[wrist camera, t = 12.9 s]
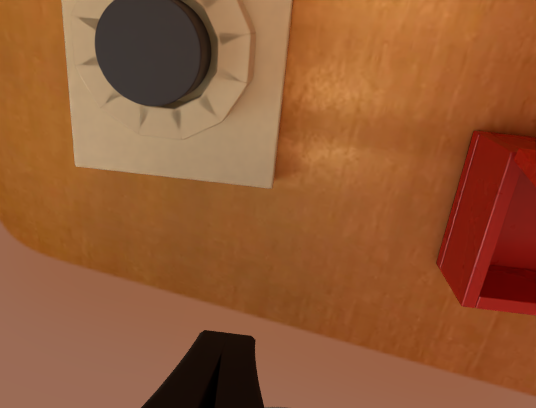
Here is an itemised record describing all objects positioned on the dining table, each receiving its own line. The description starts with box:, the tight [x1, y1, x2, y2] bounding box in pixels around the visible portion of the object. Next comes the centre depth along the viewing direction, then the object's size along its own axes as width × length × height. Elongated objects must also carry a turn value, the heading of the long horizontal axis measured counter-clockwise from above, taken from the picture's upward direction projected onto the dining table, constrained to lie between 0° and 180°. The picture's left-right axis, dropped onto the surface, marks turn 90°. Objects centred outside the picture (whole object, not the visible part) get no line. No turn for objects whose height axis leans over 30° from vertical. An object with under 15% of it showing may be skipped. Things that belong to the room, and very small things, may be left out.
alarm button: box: [95, 0, 211, 106], centre depth 15 cm, size 4×4×2 cm
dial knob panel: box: [62, 0, 293, 189], centre depth 17 cm, size 11×9×3 cm
